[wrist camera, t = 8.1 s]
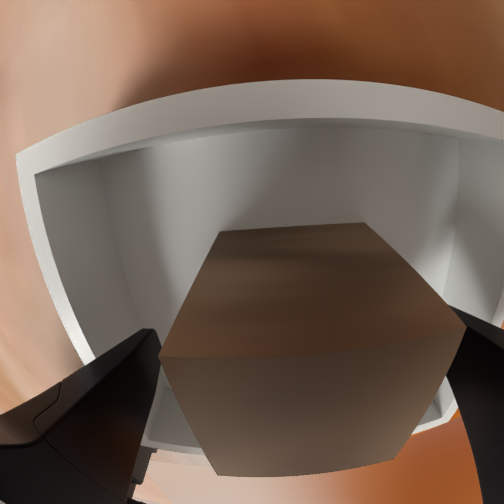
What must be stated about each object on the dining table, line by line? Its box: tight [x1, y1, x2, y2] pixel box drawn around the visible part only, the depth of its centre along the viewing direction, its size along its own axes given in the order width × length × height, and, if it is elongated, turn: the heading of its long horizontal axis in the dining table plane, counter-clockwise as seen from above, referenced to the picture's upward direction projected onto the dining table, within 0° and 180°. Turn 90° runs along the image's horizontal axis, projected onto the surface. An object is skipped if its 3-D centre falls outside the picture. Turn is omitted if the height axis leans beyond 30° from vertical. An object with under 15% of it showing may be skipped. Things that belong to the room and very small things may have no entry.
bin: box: [15, 79, 504, 455], centre depth 9 cm, size 15×13×4 cm
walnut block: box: [158, 222, 467, 477], centre depth 7 cm, size 5×5×6 cm
